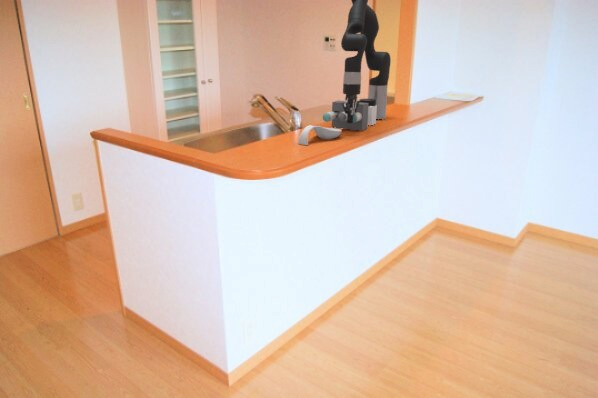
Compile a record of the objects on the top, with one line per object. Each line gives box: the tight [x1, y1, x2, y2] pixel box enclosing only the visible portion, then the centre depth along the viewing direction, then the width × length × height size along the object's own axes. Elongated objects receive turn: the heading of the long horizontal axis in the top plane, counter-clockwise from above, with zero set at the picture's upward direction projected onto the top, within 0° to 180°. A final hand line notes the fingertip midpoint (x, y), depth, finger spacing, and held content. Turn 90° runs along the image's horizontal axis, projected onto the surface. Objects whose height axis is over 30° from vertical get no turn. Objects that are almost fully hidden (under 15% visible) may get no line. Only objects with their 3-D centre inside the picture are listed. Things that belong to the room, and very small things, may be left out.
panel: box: [331, 99, 369, 132], centre depth 223 cm, size 6×16×12 cm, turn 59°
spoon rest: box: [298, 124, 343, 146], centre depth 201 cm, size 24×12×7 cm, turn 143°
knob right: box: [353, 112, 362, 123], centre depth 218 cm, size 11×4×4 cm, turn 149°
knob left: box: [322, 110, 339, 123], centre depth 220 cm, size 11×4×4 cm, turn 149°
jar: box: [358, 98, 377, 126], centre depth 232 cm, size 9×8×12 cm
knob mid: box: [338, 112, 347, 122], centre depth 221 cm, size 11×4×4 cm, turn 149°
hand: (350, 123), depth 212 cm, fingers closed
